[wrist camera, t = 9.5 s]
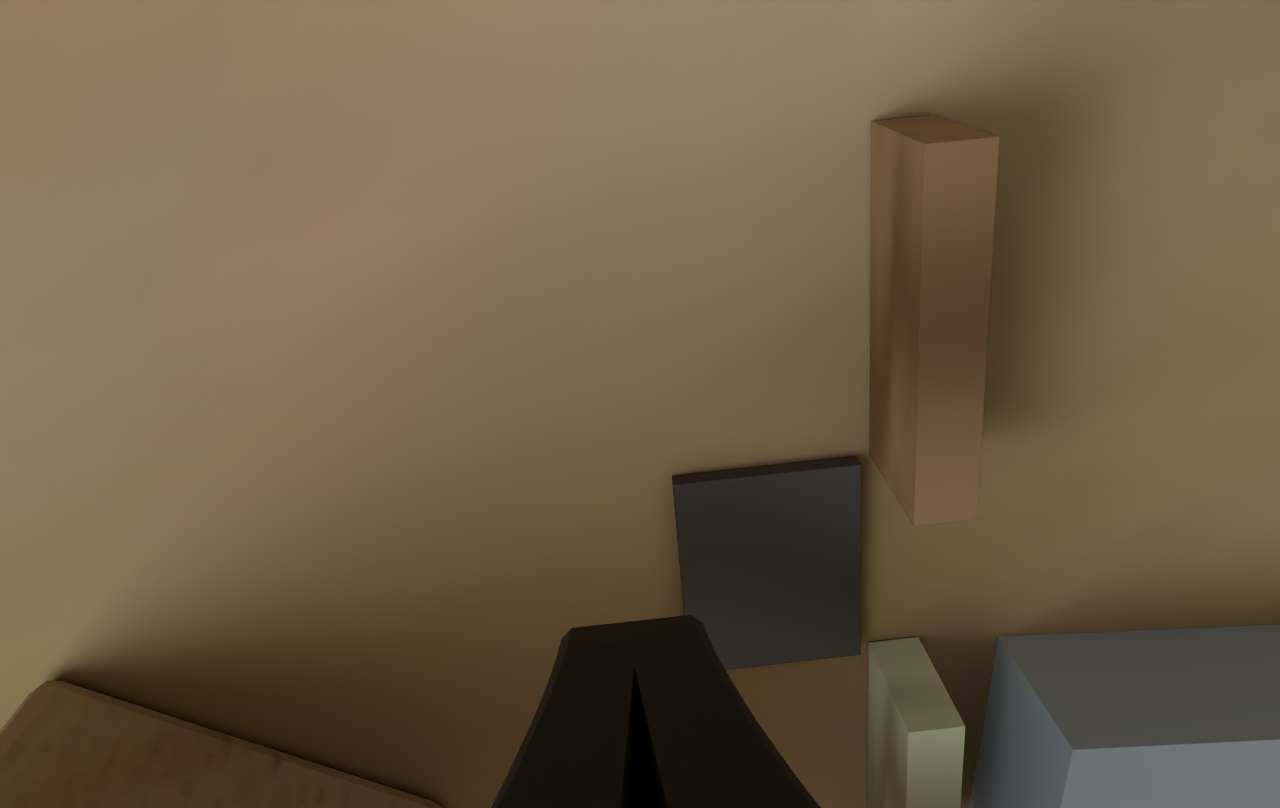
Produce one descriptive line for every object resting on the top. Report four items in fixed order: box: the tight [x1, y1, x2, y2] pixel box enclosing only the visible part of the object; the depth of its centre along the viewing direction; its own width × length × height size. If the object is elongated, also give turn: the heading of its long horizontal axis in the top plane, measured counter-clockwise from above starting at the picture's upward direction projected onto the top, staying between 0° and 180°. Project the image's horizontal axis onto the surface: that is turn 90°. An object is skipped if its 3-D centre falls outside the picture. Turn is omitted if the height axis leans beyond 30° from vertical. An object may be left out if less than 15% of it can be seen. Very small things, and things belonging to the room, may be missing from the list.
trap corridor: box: [672, 115, 1000, 808], centre depth 20 cm, size 18×22×3 cm
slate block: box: [969, 624, 1280, 808], centre depth 23 cm, size 7×8×4 cm
